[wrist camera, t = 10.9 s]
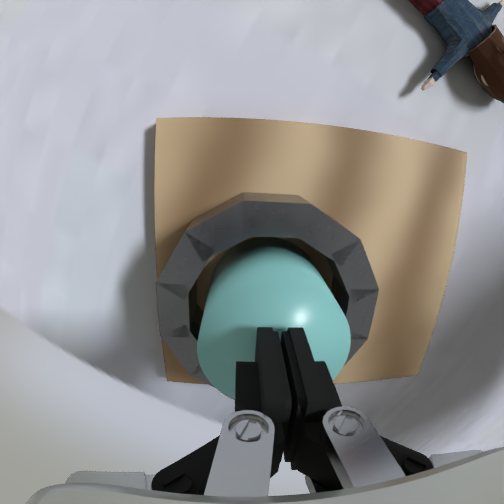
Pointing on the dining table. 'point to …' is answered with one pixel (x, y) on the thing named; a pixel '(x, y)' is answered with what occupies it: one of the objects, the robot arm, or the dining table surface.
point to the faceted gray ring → (263, 225)
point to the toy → (467, 41)
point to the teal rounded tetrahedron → (267, 309)
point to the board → (333, 204)
